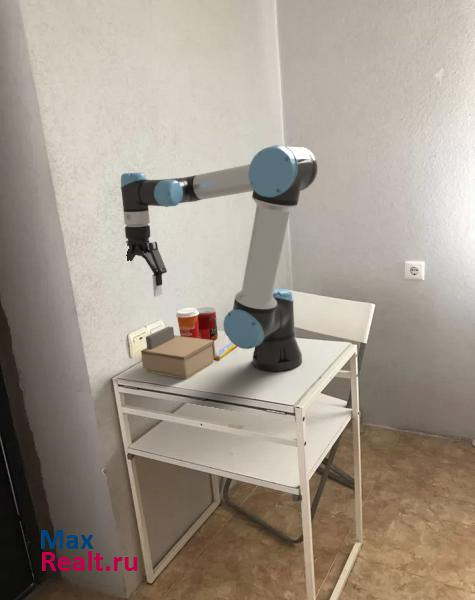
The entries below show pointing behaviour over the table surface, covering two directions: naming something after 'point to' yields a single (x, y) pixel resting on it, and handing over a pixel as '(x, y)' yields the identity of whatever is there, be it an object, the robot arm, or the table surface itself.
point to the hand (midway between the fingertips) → (142, 292)
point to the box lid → (171, 351)
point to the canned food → (207, 323)
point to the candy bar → (225, 351)
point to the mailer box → (193, 363)
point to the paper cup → (188, 322)
